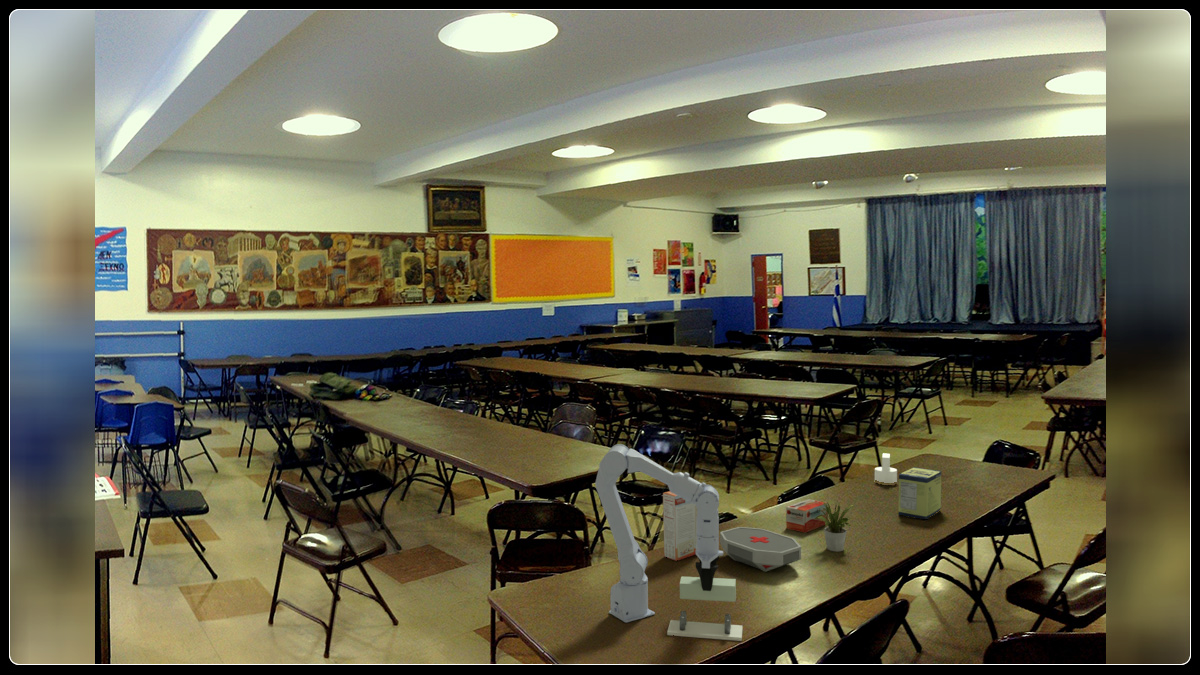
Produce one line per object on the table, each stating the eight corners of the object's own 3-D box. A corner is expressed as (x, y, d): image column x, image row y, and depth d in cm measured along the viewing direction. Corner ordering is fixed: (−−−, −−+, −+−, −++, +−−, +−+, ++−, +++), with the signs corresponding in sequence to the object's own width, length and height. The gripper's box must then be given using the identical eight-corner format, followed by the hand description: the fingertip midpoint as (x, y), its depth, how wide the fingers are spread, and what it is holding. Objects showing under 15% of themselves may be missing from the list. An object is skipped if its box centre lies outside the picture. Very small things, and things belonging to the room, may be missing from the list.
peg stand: (667, 634, 195) (667, 619, 195) (670, 623, 202) (670, 607, 202) (741, 640, 192) (741, 624, 191) (742, 628, 198) (742, 613, 198)
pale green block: (679, 598, 204) (679, 583, 203) (681, 591, 208) (681, 576, 208) (735, 601, 201) (735, 586, 201) (735, 594, 206) (735, 579, 206)
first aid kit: (710, 558, 250) (771, 581, 230) (710, 534, 250) (771, 555, 230) (748, 546, 261) (810, 568, 241) (748, 524, 260) (810, 543, 240)
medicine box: (808, 519, 290) (808, 498, 289) (828, 524, 284) (828, 502, 284) (785, 528, 279) (785, 506, 279) (805, 533, 274) (805, 511, 273)
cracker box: (693, 547, 260) (693, 484, 259) (706, 551, 256) (706, 487, 254) (662, 556, 251) (662, 491, 250) (676, 561, 247) (675, 495, 245)
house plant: (804, 552, 254) (804, 502, 253) (812, 539, 267) (812, 491, 266) (850, 558, 248) (851, 507, 247) (856, 545, 261) (857, 496, 259)
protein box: (941, 511, 298) (942, 470, 297) (926, 521, 286) (927, 478, 285) (913, 506, 305) (913, 466, 304) (897, 515, 293) (898, 474, 292)
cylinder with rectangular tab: (896, 486, 335) (897, 458, 335) (874, 484, 339) (874, 456, 338) (896, 481, 344) (897, 454, 343) (874, 479, 347) (875, 452, 346)
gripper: (722, 544, 196) (722, 598, 197) (724, 526, 210) (724, 576, 211) (693, 542, 197) (693, 596, 198) (697, 525, 211) (697, 575, 212)
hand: (707, 586), depth 204 cm, fingers closed on pale green block, 5 cm apart
